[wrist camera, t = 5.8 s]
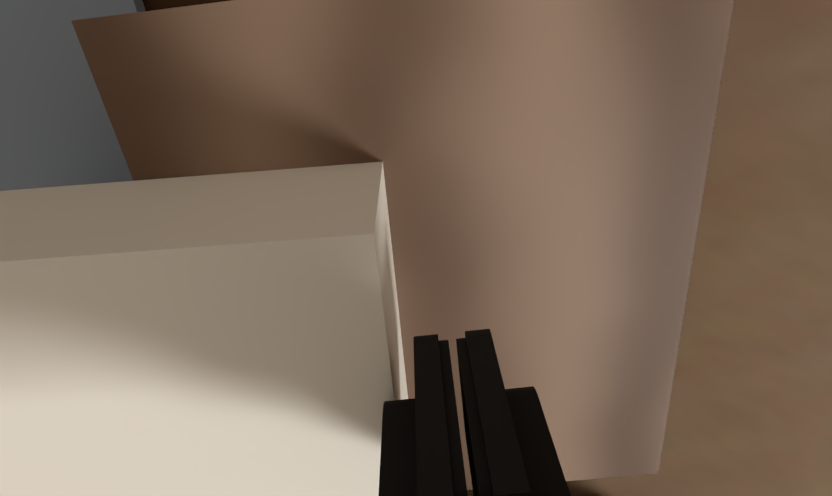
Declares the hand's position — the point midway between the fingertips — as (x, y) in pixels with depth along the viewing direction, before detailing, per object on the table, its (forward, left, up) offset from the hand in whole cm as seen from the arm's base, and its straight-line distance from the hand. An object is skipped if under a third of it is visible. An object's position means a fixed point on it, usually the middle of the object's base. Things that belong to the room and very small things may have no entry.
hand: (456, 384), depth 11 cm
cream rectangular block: (+6, 0, -3) cm, 7 cm away
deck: (0, 0, -7) cm, 7 cm away
